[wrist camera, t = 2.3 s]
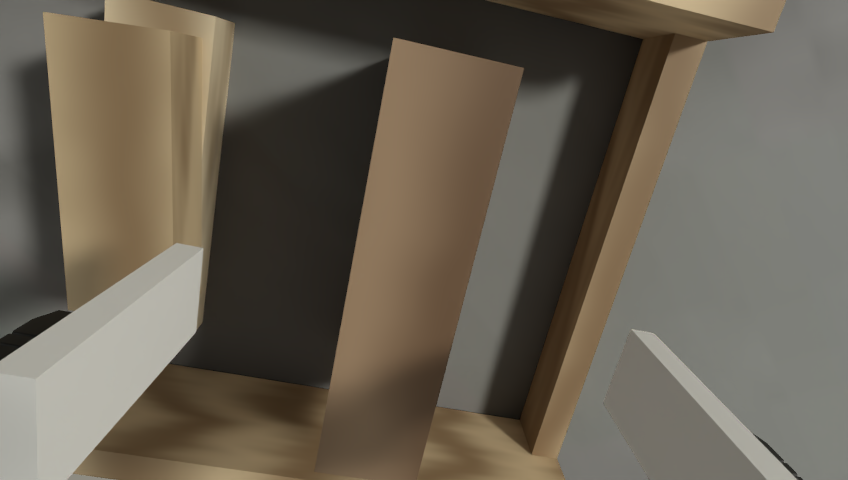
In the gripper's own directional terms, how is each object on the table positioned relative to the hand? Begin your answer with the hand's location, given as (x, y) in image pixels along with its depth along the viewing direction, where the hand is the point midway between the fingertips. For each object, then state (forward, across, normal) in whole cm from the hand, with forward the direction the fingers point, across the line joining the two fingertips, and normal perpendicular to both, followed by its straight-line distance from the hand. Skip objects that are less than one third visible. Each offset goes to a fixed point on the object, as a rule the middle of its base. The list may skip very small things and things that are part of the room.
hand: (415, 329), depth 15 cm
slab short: (+10, -12, +1) cm, 16 cm away
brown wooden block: (+12, 0, 0) cm, 12 cm away
